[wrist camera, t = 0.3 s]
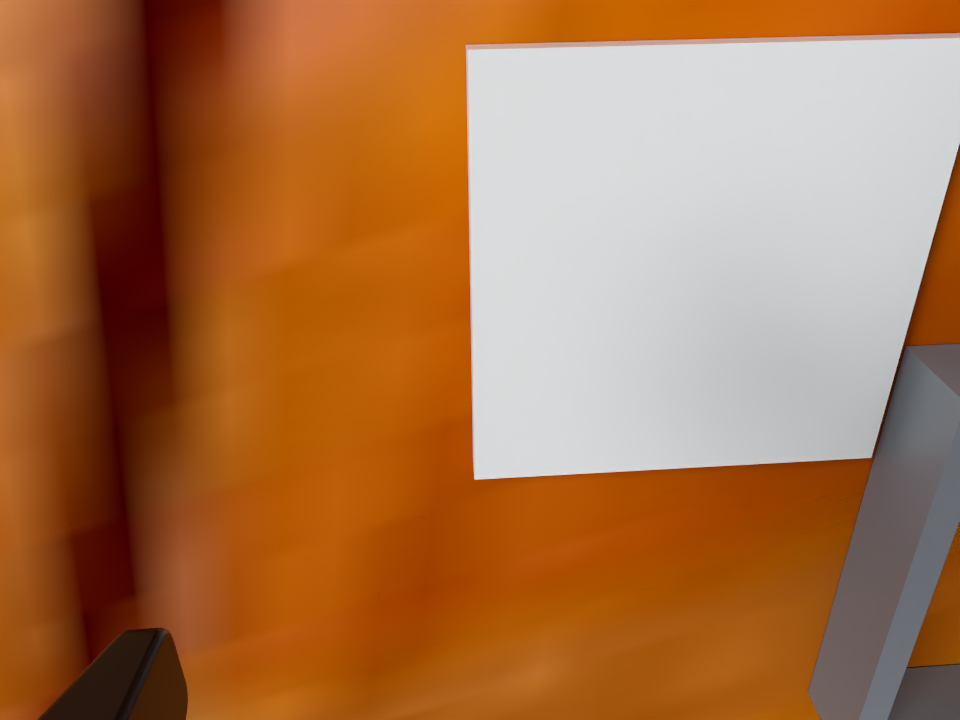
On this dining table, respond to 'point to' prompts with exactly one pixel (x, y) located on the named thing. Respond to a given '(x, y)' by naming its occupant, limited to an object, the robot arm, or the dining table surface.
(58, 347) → the dining table surface
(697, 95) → the white flat square slab
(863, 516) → the grey tray
